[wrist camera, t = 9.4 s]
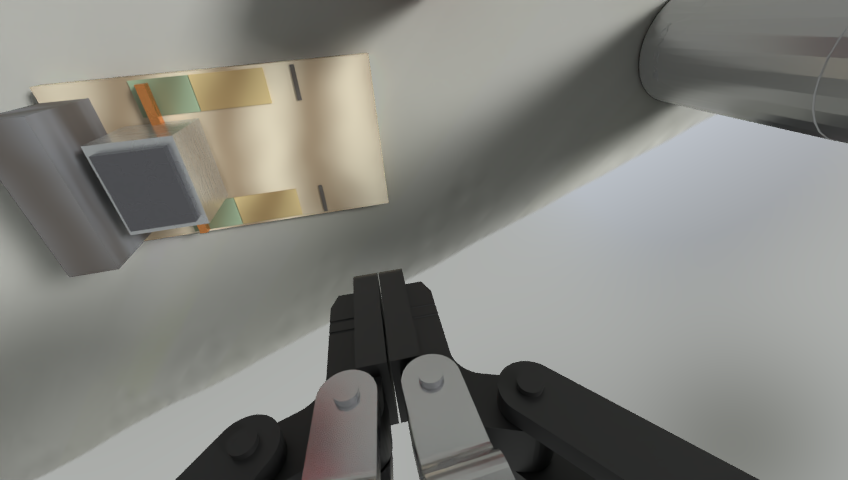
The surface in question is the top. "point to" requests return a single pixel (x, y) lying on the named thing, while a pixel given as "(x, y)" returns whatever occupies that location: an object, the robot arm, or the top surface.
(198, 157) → the block
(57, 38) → the top surface
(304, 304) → the top surface
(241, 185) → the board
